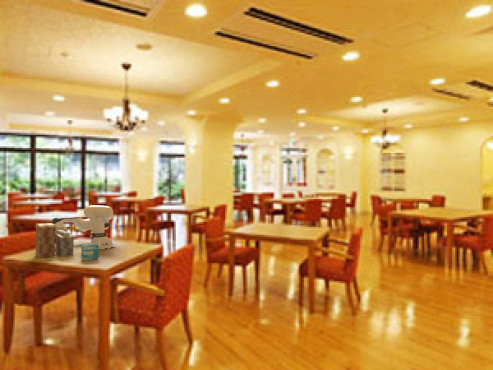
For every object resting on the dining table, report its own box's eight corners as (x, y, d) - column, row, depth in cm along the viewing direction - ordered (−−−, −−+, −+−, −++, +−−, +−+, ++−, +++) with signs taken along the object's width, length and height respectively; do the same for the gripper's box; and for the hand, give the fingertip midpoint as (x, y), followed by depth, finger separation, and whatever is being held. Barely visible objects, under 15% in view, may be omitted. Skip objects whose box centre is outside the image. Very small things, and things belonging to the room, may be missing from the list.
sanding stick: (62, 232, 318) (62, 229, 318) (69, 235, 302) (69, 232, 302) (57, 233, 315) (57, 230, 315) (64, 236, 299) (64, 233, 299)
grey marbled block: (68, 252, 313) (68, 233, 313) (73, 254, 304) (73, 235, 304) (55, 253, 307) (56, 234, 307) (60, 256, 297) (60, 236, 297)
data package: (82, 261, 283) (82, 245, 283) (81, 260, 287) (81, 244, 286) (98, 259, 290) (98, 244, 290) (96, 258, 294) (97, 243, 294)
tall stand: (50, 254, 304) (51, 223, 304) (54, 256, 294) (55, 224, 294) (35, 255, 297) (36, 223, 296) (39, 258, 287) (40, 225, 287)
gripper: (64, 235, 338) (69, 231, 328) (40, 233, 324) (44, 229, 315) (65, 228, 340) (70, 224, 330) (40, 226, 326) (45, 222, 317)
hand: (57, 227), depth 323 cm, fingers open, 8 cm apart
